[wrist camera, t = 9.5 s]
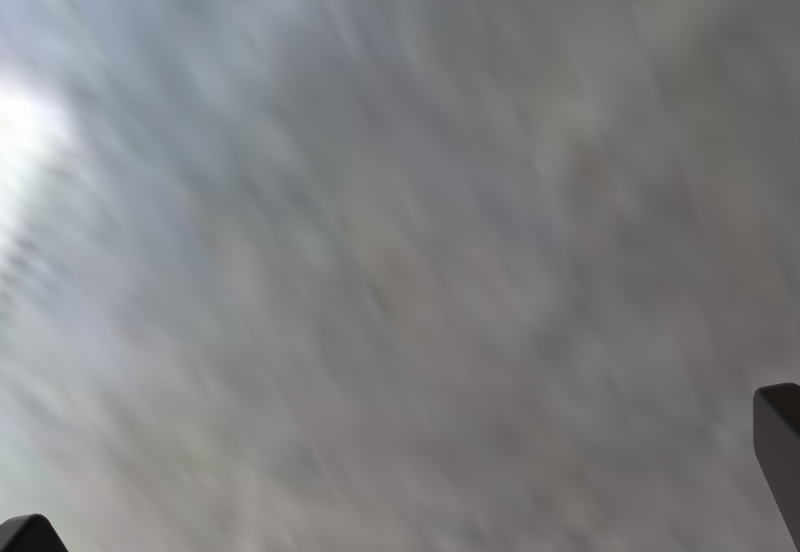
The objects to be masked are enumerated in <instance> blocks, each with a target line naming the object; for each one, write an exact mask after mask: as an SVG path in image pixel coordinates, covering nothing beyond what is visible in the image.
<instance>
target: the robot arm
mask: <svg viewBox="0 0 800 552" xmlns="http://www.w3.org/2000/svg"><path fill="white" fill-rule="evenodd" d="M753 442H754V449H755V453H756V456H757V459H758V462H759V464H760V466H761V469H762V471H763V473H764V476H765V478H766V480H767V482H768V485H769V487H770V489H771V491H772V494H773V496H774V498H775V501H776V503H777V505H778V507H779V510H780V512H781V514H782V516H783V519H784V521H785V523H786V525H787V528H788V530H789V532H790V535H791V537H792V539H793V541H794V544H795V546H796V548H797V550H798V552H800V386H799V385H797V384H794V383H782V384H776V385H770V386H764V387H760V388H758V389H757V390H756V391H755V394H754V397H753ZM0 552H68V550H67V549H66V547H65V545H64V544H63V542H62V541H61V539H60V538H59V536H58V534H57V533H56V531H55V530H54V528H53V527H52V525H51V523H50V522H49V520H48V519H47V518H46V517H44V516H43V515H41V514H30V515H24V516H19V517H14V518H11V519H8V520H6V521H5V522H4V523H2V524H1V525H0Z"/></svg>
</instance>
